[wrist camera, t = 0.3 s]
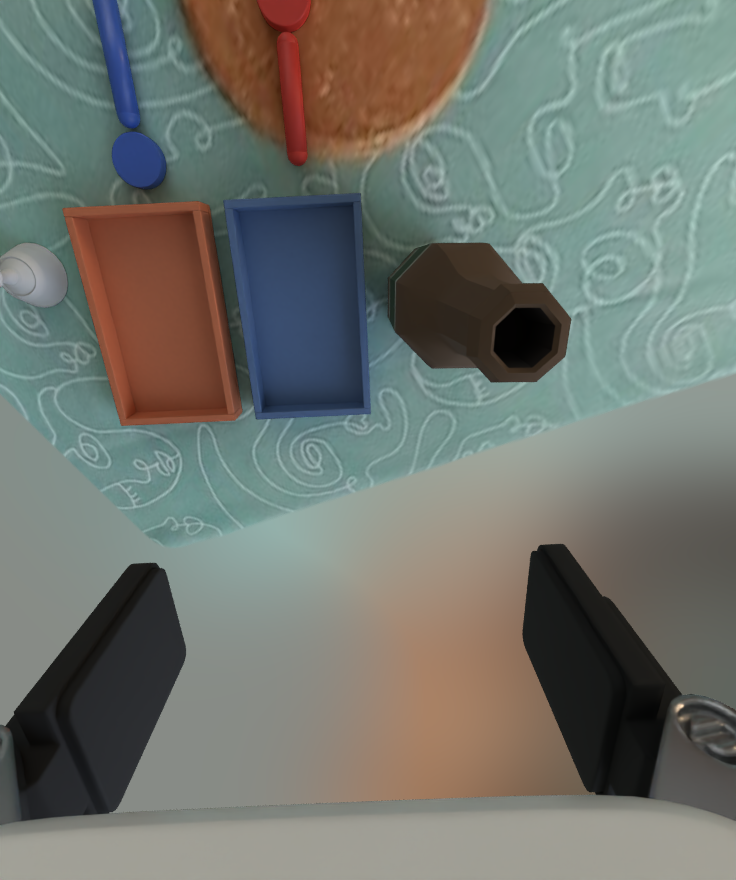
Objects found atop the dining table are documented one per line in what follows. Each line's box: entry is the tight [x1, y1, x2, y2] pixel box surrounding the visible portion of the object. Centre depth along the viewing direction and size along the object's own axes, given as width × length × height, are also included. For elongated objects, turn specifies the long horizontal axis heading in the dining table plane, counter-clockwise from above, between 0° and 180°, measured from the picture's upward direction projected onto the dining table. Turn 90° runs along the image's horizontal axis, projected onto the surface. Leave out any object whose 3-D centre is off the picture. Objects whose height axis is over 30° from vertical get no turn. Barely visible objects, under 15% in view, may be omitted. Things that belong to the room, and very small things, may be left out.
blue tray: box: [223, 193, 371, 419], centre depth 37 cm, size 17×10×2 cm, turn 3°
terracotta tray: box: [62, 201, 242, 426], centre depth 37 cm, size 17×10×2 cm, turn 3°
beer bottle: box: [388, 243, 571, 382], centre depth 26 cm, size 8×8×24 cm
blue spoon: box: [92, 0, 166, 190], centre depth 31 cm, size 12×4×2 cm, turn 3°
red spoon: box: [257, 0, 311, 166], centre depth 31 cm, size 12×4×2 cm, turn 3°
